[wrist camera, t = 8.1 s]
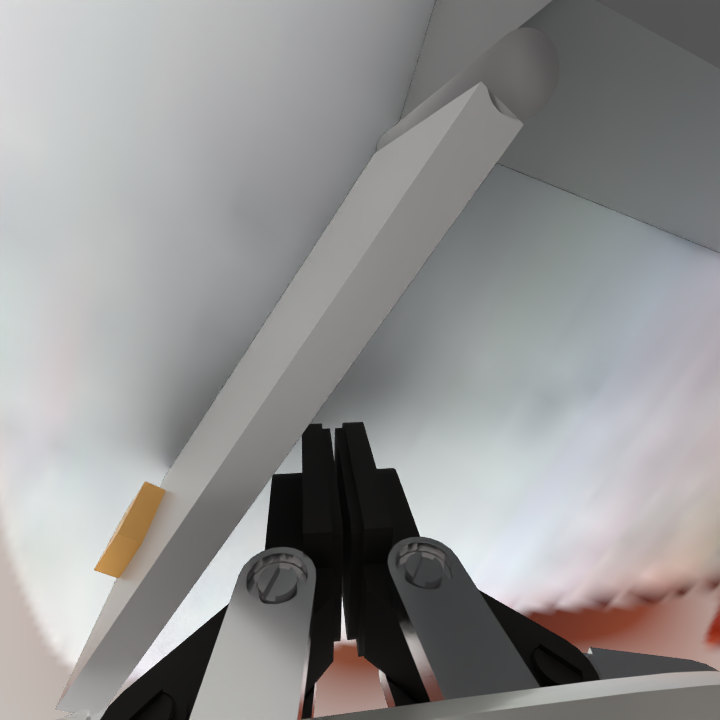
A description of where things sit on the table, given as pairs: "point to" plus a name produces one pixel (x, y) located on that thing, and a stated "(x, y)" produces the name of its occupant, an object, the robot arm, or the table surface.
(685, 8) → the camera body
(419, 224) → the side door
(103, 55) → the table surface
